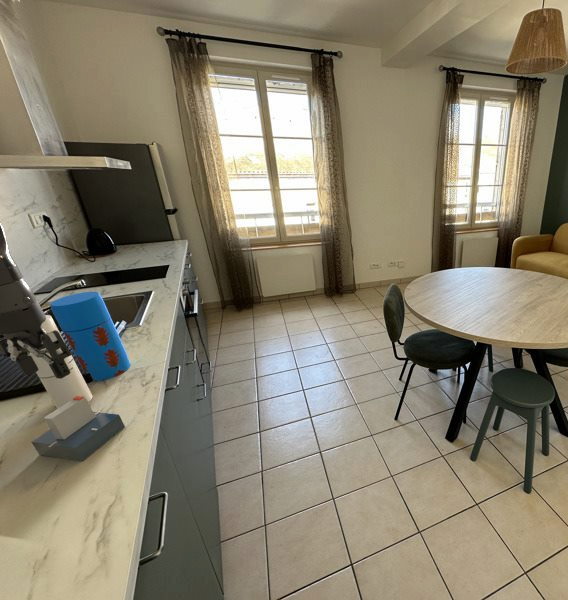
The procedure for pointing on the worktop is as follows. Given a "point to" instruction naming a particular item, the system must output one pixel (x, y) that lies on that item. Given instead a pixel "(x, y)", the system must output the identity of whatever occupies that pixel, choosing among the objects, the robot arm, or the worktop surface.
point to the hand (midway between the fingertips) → (48, 374)
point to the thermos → (91, 334)
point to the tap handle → (70, 417)
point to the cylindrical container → (66, 386)
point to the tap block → (80, 438)
